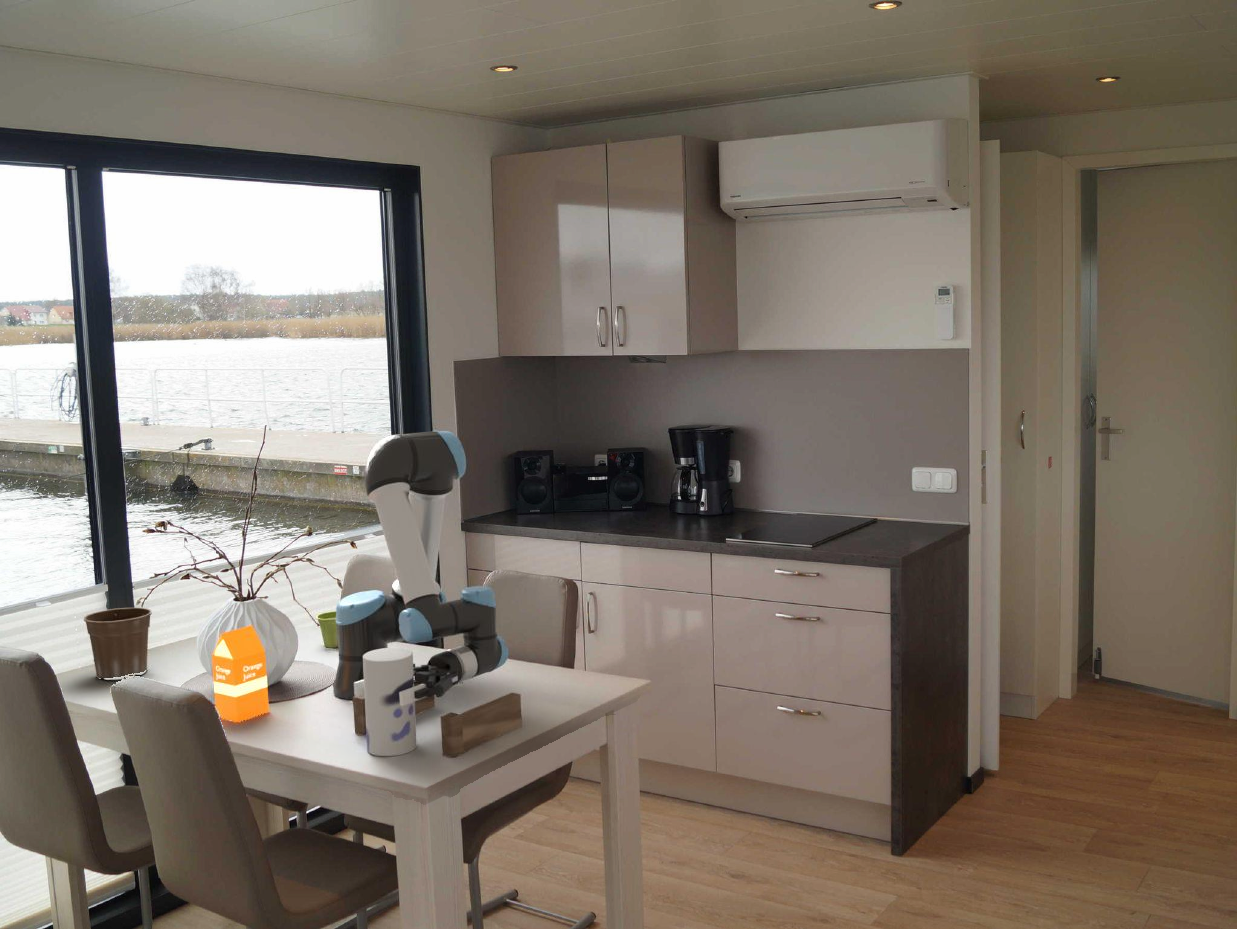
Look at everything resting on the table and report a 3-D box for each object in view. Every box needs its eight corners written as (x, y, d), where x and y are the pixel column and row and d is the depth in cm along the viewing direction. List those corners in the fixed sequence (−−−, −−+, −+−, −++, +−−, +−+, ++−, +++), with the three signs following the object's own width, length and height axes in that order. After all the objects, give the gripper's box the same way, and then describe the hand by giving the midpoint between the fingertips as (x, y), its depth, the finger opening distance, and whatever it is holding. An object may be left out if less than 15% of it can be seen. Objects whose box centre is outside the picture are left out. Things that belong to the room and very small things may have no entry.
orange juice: (215, 717, 258) (209, 631, 256) (248, 706, 265) (242, 623, 263) (237, 723, 254) (231, 635, 251) (270, 712, 261) (264, 626, 259)
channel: (354, 733, 244) (352, 696, 243) (426, 705, 262) (424, 671, 261) (453, 757, 227) (451, 718, 227) (522, 726, 245) (521, 689, 244)
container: (397, 759, 227) (392, 662, 225) (357, 752, 232) (352, 657, 229) (426, 743, 236) (422, 649, 234) (387, 736, 241) (383, 644, 238)
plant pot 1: (155, 662, 307) (150, 604, 305) (158, 677, 292) (153, 616, 291) (89, 671, 300) (83, 611, 299) (88, 687, 286) (83, 624, 284)
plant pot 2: (343, 650, 313) (341, 619, 312) (312, 649, 315) (310, 618, 314) (358, 641, 322) (356, 611, 321) (327, 640, 324) (325, 610, 323)
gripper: (494, 692, 240) (422, 722, 223) (411, 676, 254) (337, 702, 237) (493, 658, 239) (420, 684, 222) (410, 643, 254) (335, 667, 236)
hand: (377, 694), depth 230 cm, fingers open, 13 cm apart
